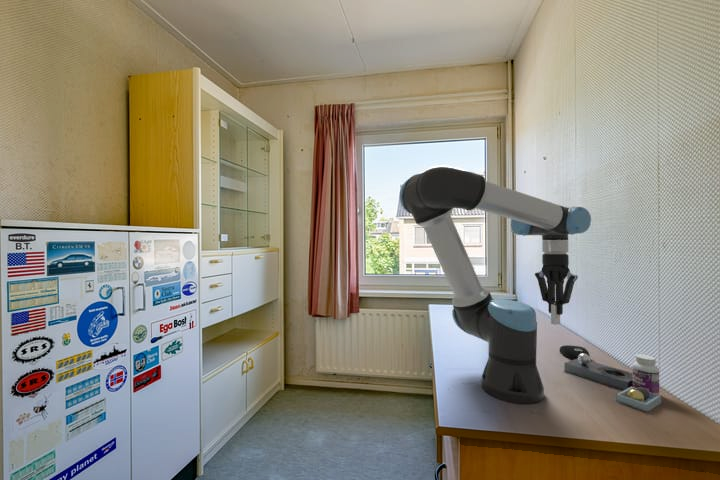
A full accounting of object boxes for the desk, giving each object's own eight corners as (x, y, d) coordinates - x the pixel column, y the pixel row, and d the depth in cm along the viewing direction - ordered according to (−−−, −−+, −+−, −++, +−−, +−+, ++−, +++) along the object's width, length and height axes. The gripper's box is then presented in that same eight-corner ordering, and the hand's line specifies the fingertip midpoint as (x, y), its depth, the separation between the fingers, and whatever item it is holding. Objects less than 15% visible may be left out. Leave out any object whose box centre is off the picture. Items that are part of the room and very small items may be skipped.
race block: (627, 391, 86) (627, 382, 86) (564, 370, 100) (564, 362, 100) (641, 384, 91) (641, 375, 91) (578, 365, 105) (579, 357, 105)
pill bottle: (627, 390, 87) (627, 354, 87) (640, 387, 89) (640, 352, 89) (651, 399, 82) (650, 361, 82) (664, 395, 84) (663, 358, 84)
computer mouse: (570, 363, 108) (570, 351, 108) (557, 351, 119) (557, 340, 119) (595, 365, 106) (595, 353, 106) (580, 353, 118) (580, 342, 118)
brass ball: (641, 407, 77) (641, 393, 77) (624, 401, 80) (624, 388, 80) (646, 403, 79) (646, 390, 79) (630, 398, 81) (630, 385, 81)
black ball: (646, 402, 79) (646, 391, 79) (632, 397, 82) (632, 386, 82) (651, 399, 81) (651, 388, 81) (637, 395, 83) (637, 384, 83)
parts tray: (647, 412, 75) (647, 404, 75) (616, 401, 80) (616, 394, 80) (661, 403, 80) (661, 395, 80) (631, 393, 85) (631, 386, 85)
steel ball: (587, 366, 97) (587, 356, 97) (575, 363, 100) (575, 352, 100) (592, 364, 99) (592, 354, 99) (580, 361, 101) (581, 351, 102)
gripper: (582, 253, 104) (582, 326, 103) (541, 252, 115) (542, 318, 115) (570, 253, 100) (570, 329, 100) (529, 252, 111) (530, 321, 111)
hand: (555, 323), depth 107 cm, fingers closed
